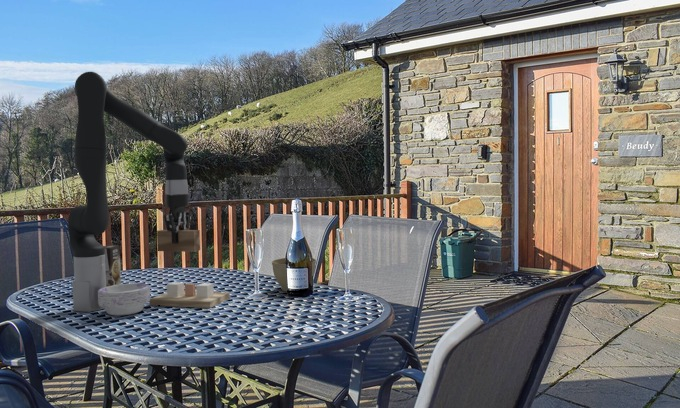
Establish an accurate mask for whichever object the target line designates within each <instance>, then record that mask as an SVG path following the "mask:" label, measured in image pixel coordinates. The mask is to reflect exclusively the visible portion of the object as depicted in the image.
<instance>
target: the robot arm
mask: <svg viewBox="0 0 680 408" xmlns="http://www.w3.org/2000/svg"><path fill="white" fill-rule="evenodd" d="M74 93H75V95H76V99H77V109H78V117H77V124H76V129H75V130H76V131H75V137H74V138H75V139H74V165H75V169H76V171H77V173H78V176H79V178H81V180H82V183H83V185H84V187H85V193H86V205H78V206H77V205H76V206H74V207H73V208H72V209H71V210H70V212H69V213H68V218H67V226H68V227H67V229H68V238H69V245H70V249H71V251H72V253H73V254H72V256H73V276H74V277H73V281H72V283H71V286H72V287H71V288H72V305H73V306H72V307H73V311H74V312H85V313H91V312H94V311H100V310H103V309H104V310H105V308H103V307H100V306H99V304H98V290H100V289H102V288H104V287H106V272H105V249H104V246H105V245H103V244H101V243H100V242H98V240H96V238H95V235H96V236H97V235H102V234H104V233H105V232H106V230H107V229H108V226H109V221H110V214H109V213H110V211H109V205H108V200H109V199H108V194H107V193H108V192H107V191H108V190H107V140H106V139H107V137H106V128H105V127H106V126H105V120H104V119H105V113H106V114H108V115H110V116H111V117H113V118H115V119H117V120H118V121H120V122H121V123H123V124H124V125H125V126H127V127H129V129H131V130H133V131H134V132H136V133H137V134H139V135H140V136H142V137H143V138H145V139H147V140H149V141H150V142H153V143H156V144H157V145H158V146H160V147H162V148H163V157H164V164H165V187H164V188H165V207H167V208H169V210H168V214H164V216H163V218H164V223H165V225H166V226H165V227H166V230H167V231H170V232H171V234H172V243H173V244H177V243H179V238H178V230H189V227H190V220H191V211H187V209H186V208H187V207H189V206H190V205H189V203H190V202H189V186H188V185H189V184H188V171H187V166H186V164H185V152H186V151H187V148H188V142H187V140H186V138H185V137H184V136H183V135H181V134H180V133H178V132H177V131H175V130H173V129H171V128H169V127H167V126H166V125H164V124H162V123H161V122H160V121H159V120H157V119H156V118H154V117H153V116H151V115H150V114H148V113H147V112H145V111H143V110H141V109H139V108H138V107H136V106H133V105H131V104H129V103H127V102H126V101H123V100H122V99H121V98H119V97H117V95H115V94H114V93H112V91H110V89H108V88H107V83H106V81H105V79H104V78H103V76H101V75H100V74H99V73H98V72H95V71H86V72H83V73H81V74H80V75H79V76H78V77H77V78H76V80H75V82H74Z"/></svg>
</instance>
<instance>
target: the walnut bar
mask: <svg viewBox="0 0 680 408" xmlns="http://www.w3.org/2000/svg"><path fill="white" fill-rule="evenodd" d="M200 232H201V231H200V229H186V230H178V238H179V243H177V244H173V243H172V234H171V232H170V231H167V229H160V230H157V231H156V239H157V240H156V242H157V252H178V253H179V252H182V253H183V252H193V253H194V252H195V253H196V252H199V251H201V234H200Z"/></svg>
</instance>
